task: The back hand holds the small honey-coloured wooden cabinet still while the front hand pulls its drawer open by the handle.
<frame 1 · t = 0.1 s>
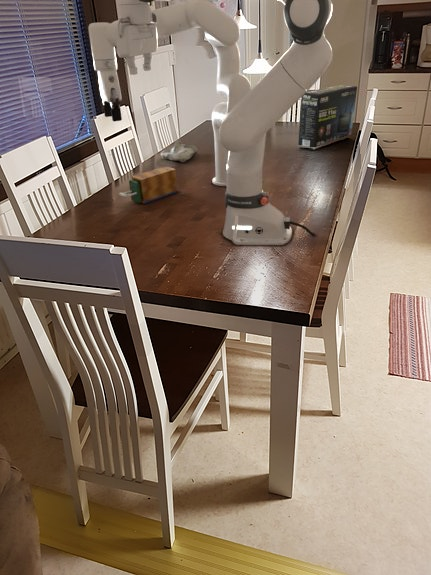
front hand: (140, 72, 133), 48 cm above the table, tool pointing down, fingers open, 8 cm apart
back hand: (113, 118, 162), 31 cm above the table, tool pointing down, fingers open, 9 cm apart
fossil: (178, 158, 230), on the table
drawer: (144, 188, 177), point 5 cm above the table, slide at 0.7 cm
router box: (325, 143, 245), on the table
cabinet: (156, 196, 183), on the table
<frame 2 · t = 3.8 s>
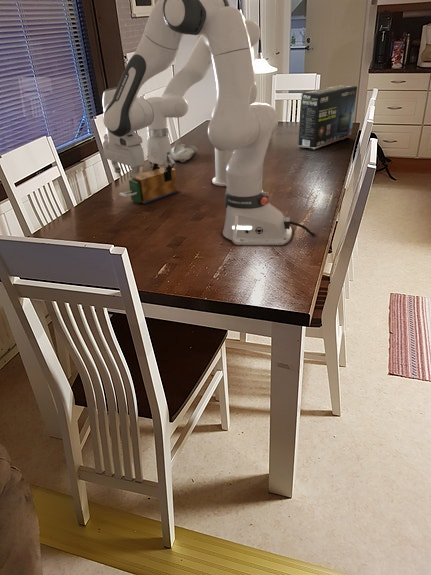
front hand: (125, 174, 169), 12 cm above the table, tool pointing down, fingers open, 8 cm apart
back hand: (162, 178, 182), 6 cm above the table, tool pointing down, fingers closed on cabinet, 6 cm apart
cabinet: (156, 196, 183), on the table, touching back hand
everything else where it was.
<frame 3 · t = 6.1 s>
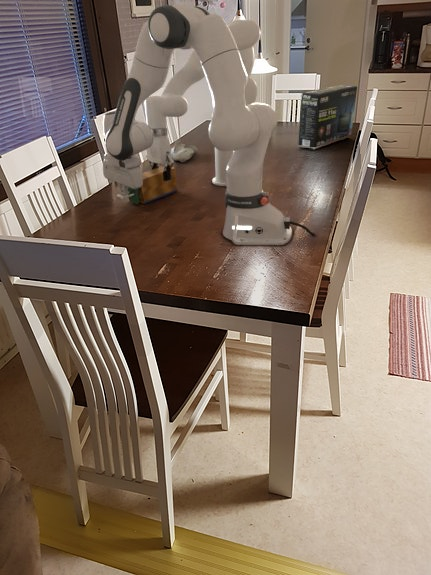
front hand: (124, 194, 173), 4 cm above the table, tool pointing down, fingers closed, pressing on drawer
back hand: (161, 178, 182), 6 cm above the table, tool pointing down, fingers closed on cabinet, 6 cm apart
drawer: (142, 188, 177), point 5 cm above the table, slide at 1.7 cm, touching front hand
cabinet: (156, 195, 183), on the table, touching back hand
everything else where it was.
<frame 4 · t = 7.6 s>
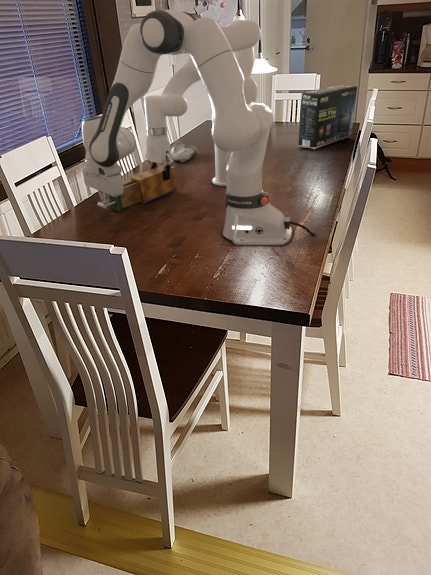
front hand: (105, 202, 168), 4 cm above the table, tool pointing down, fingers closed
back hand: (161, 177, 181), 7 cm above the table, tool pointing down, fingers closed on cabinet, 6 cm apart
drawer: (124, 195, 172), point 4 cm above the table, slide at 10.2 cm, touching front hand
cabinet: (156, 195, 183), on the table, touching back hand
everything else where it was.
when the back hand's fingers open (7 cm above the table, at t = 9.2 s): cabinet stays where it is, on the table.
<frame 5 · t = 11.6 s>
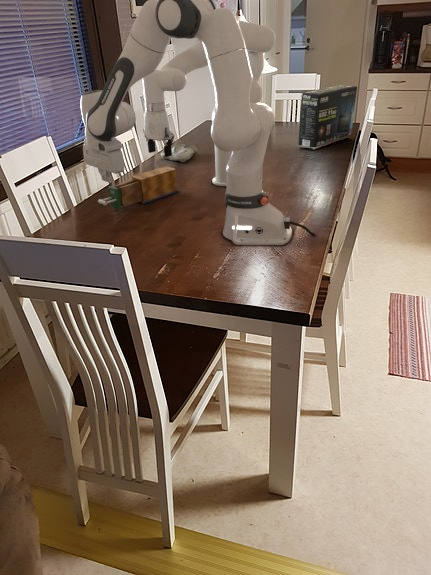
front hand: (106, 180, 164), 12 cm above the table, tool pointing down, fingers closed
back hand: (160, 154, 177), 16 cm above the table, tool pointing down, fingers open, 9 cm apart
drawer: (125, 194, 172), point 5 cm above the table, slide at 10.0 cm
cabinet: (156, 196, 183), on the table
everything else where it was.
at the end: drawer slide at 10.0 cm; cabinet tilted 0°; cabinet never tilted more than 4° during the clip; cabinet moved 0.1 cm from its start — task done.
